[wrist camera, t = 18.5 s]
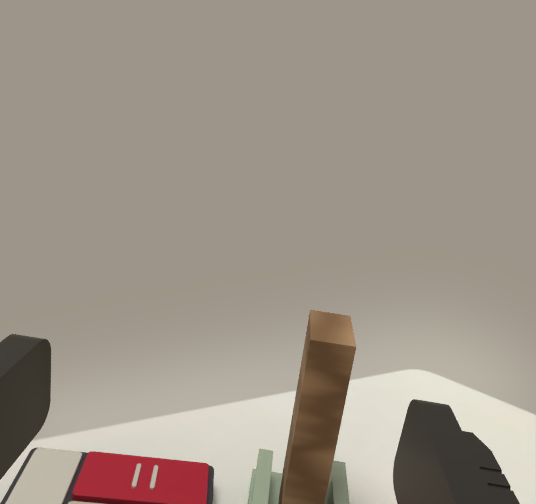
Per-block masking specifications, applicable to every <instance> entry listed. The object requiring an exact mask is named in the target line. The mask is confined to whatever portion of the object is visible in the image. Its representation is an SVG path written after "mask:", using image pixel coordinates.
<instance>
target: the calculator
mask: <svg viewBox="0 0 536 504" xmlns="http://www.w3.org/2000/svg"><path fill="white" fill-rule="evenodd" d="M213 479H214V469H213V467H212V466H209V465H208V464H206V463H199V462H189V461H180V460H170V459H160V458H151V457H141V456H132V455H122V454H112V453H103V452H89V453H85V452H75V451H66V450H56V449H46V448H34V449H32V450H31V451H30V453H29V454H28V456H27V458H26V460H25V461H24V463H23V465H22V467H21V468H20V470H19V472H18V474H17V476H16V477H15V479H14V481H13V483H12V484H11V486H10V488H9V490H8V491H7V493H6V495H5V497H4V498H3V500H2V502H1V504H212V500H213Z"/></svg>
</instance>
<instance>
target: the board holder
mask: <svg viewBox="0 0 536 504" xmlns="http://www.w3.org/2000/svg"><path fill="white" fill-rule="evenodd" d="M272 458H273V451H271V450H264V449H259V455H258V461H257V468H256V469H253V472H252V478H251V485H250V491H249V498H248V504H278V503H279V492H280V486H281V480H282V474H281V473H275V472H271V468H272ZM325 504H349V495H348V485H347V476H346V466H345V463H344V462H338V461H333V464H332V469H331V474H330V479H329V484H328V489H327V494H326V499H325Z"/></svg>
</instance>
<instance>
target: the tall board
mask: <svg viewBox="0 0 536 504" xmlns="http://www.w3.org/2000/svg"><path fill="white" fill-rule="evenodd" d="M355 350H356V343H355V338H354V333H353V328H352V323H351V318H350V316H346V315H340V314H334V313H327V312H321V311H314V310H310V315H309V321H308V326H307V332H306V338H305V344H304V350H303V356H302V362H301V368H300V374H299V380H298V386H297V392H296V397H295V403H294V409H293V415H292V421H291V427H290V433H289V439H288V445H287V451H286V457H285V463H284V468H283V474H282V480H281V486H280V492H279V503H278V504H325V499H326V494H327V489H328V484H329V479H330V474H331V469H332V464H333V459H334V454H335V449H336V444H337V439H338V434H339V429H340V424H341V419H342V415H343V410H344V405H345V400H346V395H347V390H348V385H349V380H350V375H351V370H352V364H353V360H354V355H355Z"/></svg>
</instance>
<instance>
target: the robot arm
mask: <svg viewBox="0 0 536 504" xmlns="http://www.w3.org/2000/svg"><path fill="white" fill-rule="evenodd" d="M50 383H51V346H50V343H49V341H48V340H46V339H40V338H35V337H28V336H22V335H16V334H12V335H9V336H8V337H6V338H5V339H4V340H3V341H2V342H0V479H1V478H2V477H3V476H4V474H5V473H6V472H7V471H8V469H9V468H10V467H11V466H12V464H13V463H14V462H15V461H16V460H17V458H18V457H19V456H20V455H21V453H22V452H23V451H24V450H25V448H26V447H27V446H28V445H29V443H30V442H31V441H32V440H33V438H34V437H35V436H36V435H37V433H38V432H39V431H40V429H41V428H42V426H43V424H44V422H45V420H46V417H47V414H48V411H49V407H50V385H51V384H50ZM393 484H394V491H395V495H396V499H397V503H398V504H520V503H519V501H518V500H517V498H516V496H515V494H514V492H513V491H511V490H510V485H509V483H508V481H507V479H506V477H505V475H504V474H502V470H501V468H500V466H499V464H498V462H497V461H496V459H495V457H494V455H493V453H492V451H491V450H490V449H489V448H488V447H487V446H486V445H485V444H484V443H483V442H482V441H481V440H479V439H478V438H477V437H476V436H475V435H474V434H473V433H471V432H465V431H462V430H461V428H460V426H459V424H458V422H457V420H456V418H455V416H454V413H453V411H452V409H451V408H450V406H449V405H446V404H440V403H434V402H427V401H421V400H415V399H414V400H412V401H411V402H410V404H409V407H408V410H407V414H406V418H405V422H404V425H403V429H402V433H401V437H400V441H399V445H398V449H397V452H396V456H395V461H394V469H393Z"/></svg>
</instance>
